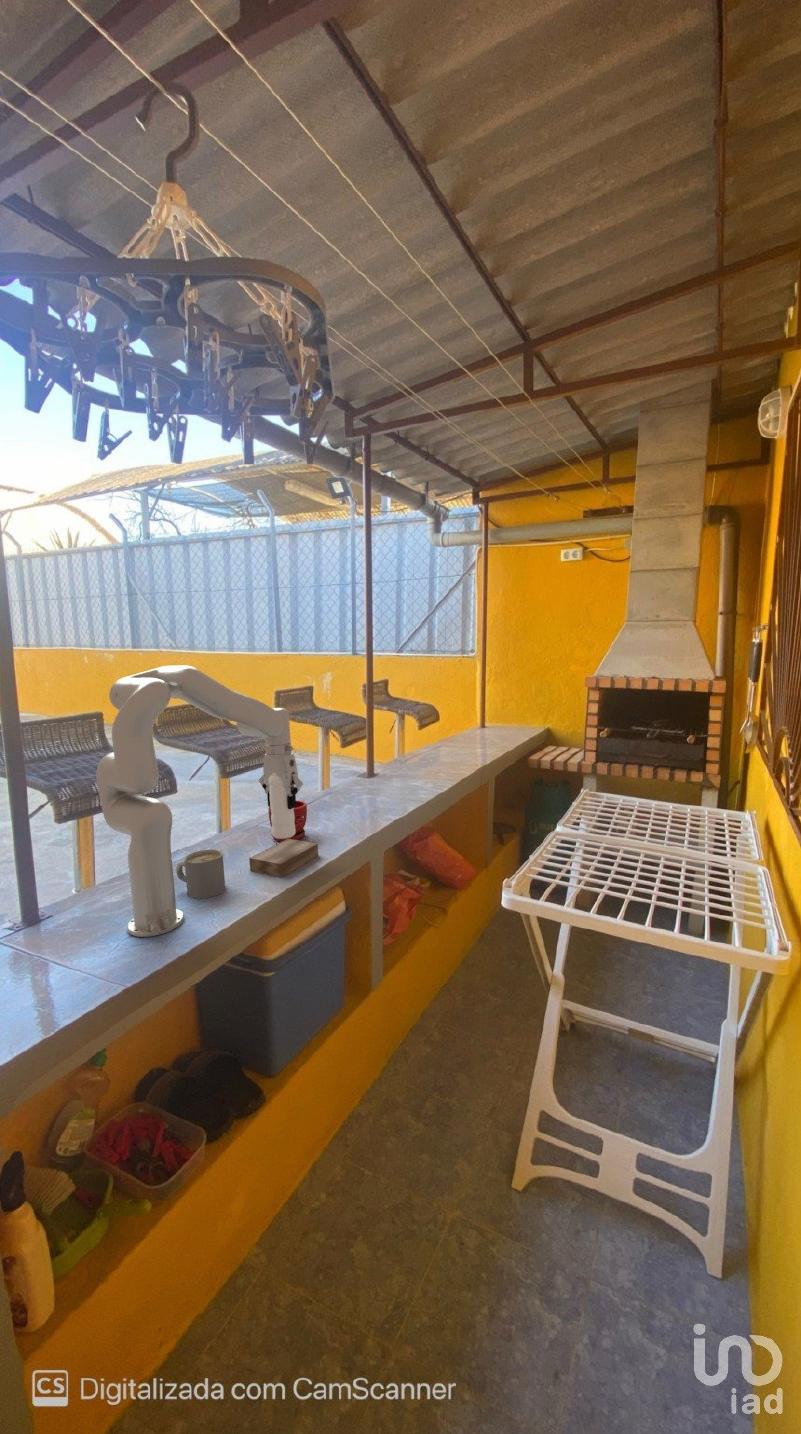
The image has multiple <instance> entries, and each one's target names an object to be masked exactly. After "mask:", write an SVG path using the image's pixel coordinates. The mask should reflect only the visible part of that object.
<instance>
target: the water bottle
mask: <svg viewBox="0 0 801 1434" xmlns="http://www.w3.org/2000/svg"><path fill="white" fill-rule="evenodd" d="M269 784H270V787H269V793H270V807H271V813H272V814H271V822H272V827H271V834H272V835H271V837H272V836H273V837H275V838H278V839H285V838H290V837H292V836H294V835H295V832H296V831H295V823H294V821H295V816H294V812H293V810H294V808H292V809H288V804H287V796H289V795H288V793H287V790H286V788H285V787H283V781H282V780H281V778H280V777H279V776H277V774H276V773H272V775H271V776H270V777H269ZM290 785H291V783H290ZM290 789H291V787H290ZM291 791H292V789H291ZM273 837H272V838H273Z"/></svg>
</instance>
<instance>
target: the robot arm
mask: <svg viewBox="0 0 801 1434" xmlns="http://www.w3.org/2000/svg"><path fill="white" fill-rule="evenodd" d="M108 697H109V701H110V703H111V705H112V707H114V708H115V709H117V710H119V711H118V712H117V714H116V716H115V717H114V720H113V722H112V727H111V741H112V750H113V751H112V752H109V753H107V754H106V755H104V756H103V757H102V758H101V760H100V761H99V762H98V765H97V767H96V768H97V769H96V774H95V776H96V784H97V789H98V795H99V796H98V797H99V800H100V804H101V810H102V815H103V817H104V820H105V823H106V824H107V825H108V827H109V828H110V829H112V830H114V831H116V832H118V833H121V834H125V835H128V836H130V843H129V848H128V850H127V865H128V873H129V882H130V883H129V884H130V892H131V903H132V912H133V918H132V919H131V920H129V922H128V923H127V925H126V927H127V932H128V934H130V935H132V936H134V937H140V938H148V937H155V936H160V935H164V934H165V933H168V932H171V931H173V930H175V929H176V928H178V927H179V926H181V924H182V923H183V922H184V918H185V915H184V912H183V911H182V910H180V909H178V908H177V904H176V903H177V902H176V893H175V892H176V891H175V881H174V880H175V879H174V870H173V868H174V867H173V859H172V848H171V847H172V846H171V844H172V842H171V840H172V838H171V836H172V828H173V827H172V826H173V814H172V811H171V809H170V807H169V806H168V804H166V803H165V802H164V801H163V800H160V799H159V798H158V799H157V798H154V797H150V796H145V795H144V794H148V793H151V792H152V791H154V790H155V789H156V788H157V785H158V782H159V781H160V780H159V768H158V767H159V765H158V762H157V755H156V751H155V746H154V737H153V729H154V726H155V723H156V721H157V719H158V717H159V716H160V715H161V714H162V713H163V712H164V710H166V709H167V707H168V705H169V704H170V701H171V699H174V700H175V699H179V700H182V701H185V702H186V703H188V704H190V705H192V706H193V707H195V708H197V709H199V710H200V711H203V712H204V713H206V714H208V715H209V716H212V717H214V718H217V719H221V720H222V721H223V720H224V721H228V722H229V721H230V722H234V723H236V727H237V730H238V732H239V733H240V734H242V735H243V736H247V737H253V738H264V744H265V746H264V747H265V748H264V749H265V753H264V756H263V770H262V771H263V774H262V775H261V776H260V777H259V779H258V782H259V783H260V785H261V787H262V788H263V790H264V793H265V794H266V795H267V807H268V808H269V807H270V793H269V787H270V784H269V777H270V776H271V775H272V773H276V774H277V776H279V777H280V778H281V780H282V781H283V787H285V788H286V790H287V793H288V795H289V796H287V804H288V809H292V808H294V807H296V801H297V797H296V796H297V794H298V793H299V791H300V789H301V788H302V787H303V785H304V783H303V781H301V779H300V778H299V774H298V773H299V772H298V766H297V765H298V764H297V760H296V756H295V753H294V752H292V751H294V746H292V743H291V741H292V739H291V726H290V725H291V724H290V712H289V710H288V709H287V708H284V707H270V706H269V705H267V704H266V703H264V702H262V701H259V700H258V699H255V698H253V697H250V696H248V695H245V694H243V693H240V692H238V691H236V690H232V689H230V688H229V687H227V686H225V685H224V684H222V683H221V682H219V681H217V680H216V679H214V678H212V677H211V676H209V675H208V674H206V673H204V672H202V671H201V670H199V669H197V668H196V667H193V666H191V665H164V666H160V667H156V668H153V669H150V670H146V671H143V672H138V673H136V674H132V675H129V676H124V677H121V678H119V679H118V680H115V682H114V683H113V684H112V686H111V687H110V689H109V693H108ZM290 783H291V785H290ZM290 787H291V789H292V791H291V789H290Z"/></svg>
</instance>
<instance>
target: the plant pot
mask: <svg viewBox="0 0 801 1434" xmlns="http://www.w3.org/2000/svg"><path fill="white" fill-rule="evenodd" d="M293 812H294V816H295V821H294V823H295V831H296V832H295V835H294V836H292V837H290V838H285V839H278V838H275V837H273V836H272V833H271V837H272V839H274V840H276V841H280V842H282V841H284V840H286V839H292V840H299V839H302V838H303V837H304V836H305V834H306V830H305V829H304V828H305V826H306V823H307V818H308V817H307V816H308V815H307V814H308V804H307V803H306V802H305V801H304V800H303V801H302V800H296V807H294V810H293ZM271 814H272V813H271V807H269V806H268V819H269V824H270V826H271V827H270V828H272V822H271Z"/></svg>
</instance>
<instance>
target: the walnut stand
mask: <svg viewBox="0 0 801 1434" xmlns="http://www.w3.org/2000/svg"><path fill="white" fill-rule="evenodd" d="M318 856H319V844H318V843H316V842H311V841H310V842H309V841H303V840H299V839H297V840H292V839H286V840H284V841H280V842H278V843H277V844H275V845H274V844H273V846H271V847H269V848H266V849H265V850H262V851H260V852H259V853H256V854H255V855H252V856H251V857H249V858H248V859H249V867H250V868H249V870H250V872H254V873H259V874H264V875H269V876H273V875H274V877H278V876H279V877H278V878H283V877H286V875H288V874H290V873H293V871H295V870H297V869H298V868H301V867H302V866H303V865H305V864H307V863H308V861H309V862H311V861H312V860H314V859H316V858H317V857H318ZM306 862H307V863H306Z"/></svg>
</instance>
